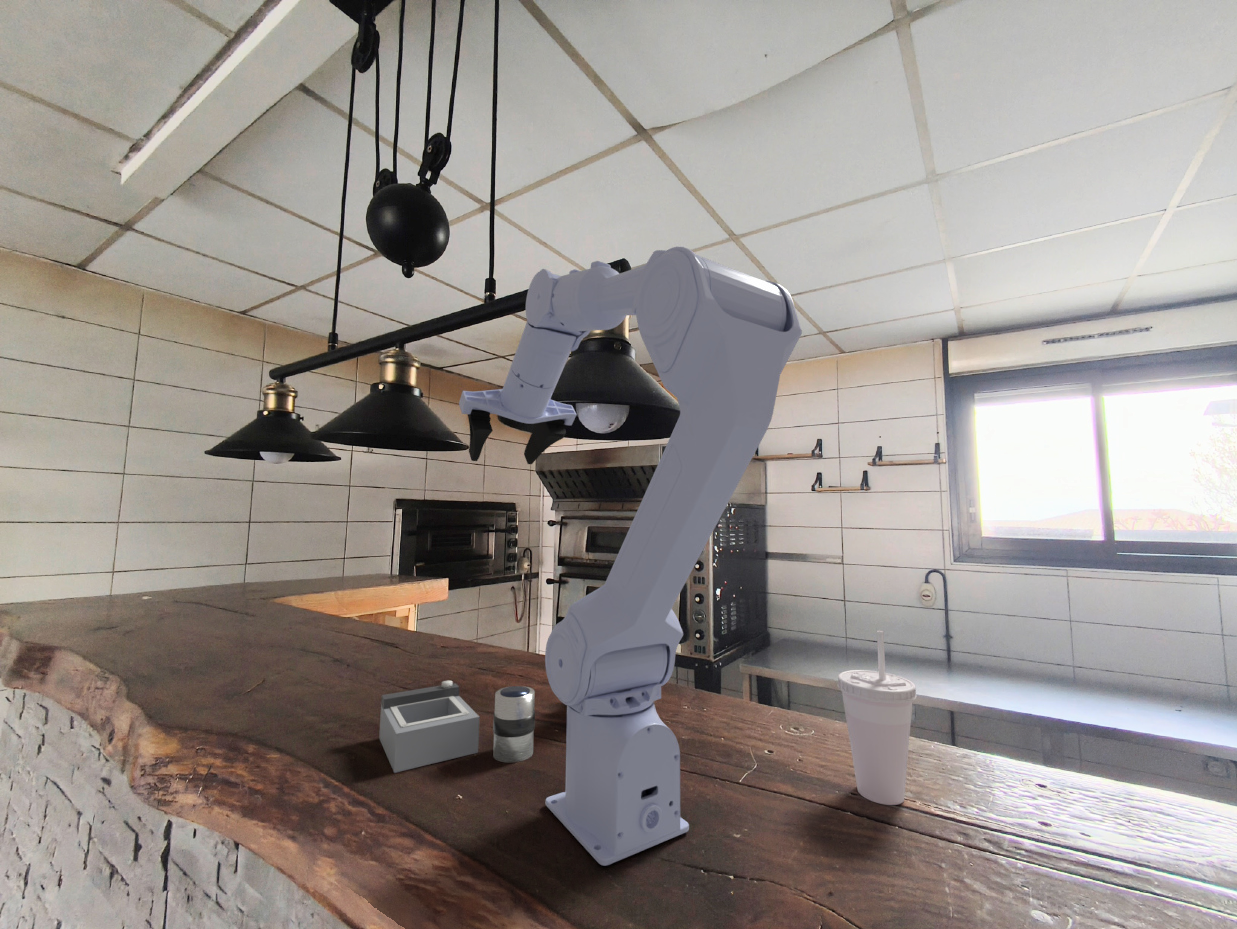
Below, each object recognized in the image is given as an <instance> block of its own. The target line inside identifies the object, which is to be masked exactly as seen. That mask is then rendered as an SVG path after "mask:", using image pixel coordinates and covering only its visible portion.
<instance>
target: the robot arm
mask: <svg viewBox="0 0 1237 929" xmlns="http://www.w3.org/2000/svg"><path fill="white" fill-rule="evenodd" d="M627 316H635V317H636V321H637V327H638V331H639V333H640V337H641V340H642V342H643V344H644V346H645V349H646V350H647V353H648V354H649V357H650V359H651V361H652V363H653V365H654V368H655V370H656V372H657V374H658V377H659V378H660V381H661V383H662V386H663V387H664V388H665V389H666V391H668V392H669V393H670V394H672V395H673V396H674V397H675V398H676V399H677V400H676V401H677V404H678V407H679V416H678V418H677V422H676V423H675V426H674V428H673V430H672V433H671V434H670V436H669V439H668V441H667V444H666V446H665V448H664V450H663V453H662V455H661V457H660V460H659V461H658V464H657V466H656V468H655V470H654V472H653V476H652V477H651V480H650V482H649V484H648V486H647V488H646V490H645V493H644V495H643V497H642V499H641V502H640V504H639V506H638V508H637V511H636V513H635V515H634V518H633V520H632V522H631V524H630V527H629V529H628V531H627V533H626V536H625V538H624V540H623V542H622V544H621V547H620V549H619V550H618V554H617V556H616V558H615V560H614V562H613V565H612V567H611V569H610V571H609V574H608V576H607V577H606V580H605V582H604V584H603V585H601V586H600V587H598V588H596V589H595V590H593V591H591V592H590V593H588V594H586V595H585V596H583V597H582V598H580V599H578V600H577V601H575V602H573V603H572V604H571V605H570V606H569V607H568V610H567V613H565V616H564V618H563V619H562V620H561V621H559V622H558V623H556V624H555V625H554V626H553V628H552V630H551V632H550V634H549V636H548V639H547V641H546V645H545V651H544V652H545V654H544V655H545V657H544V663H545V673H546V676H547V680H548V683H549V686H550V688H551V690H552V692H553V694H554V695H555V696H556V698H557V699H558V700H559V701H560V702H561V703H562V704H564V705H565V706H566V734H565V735H566V738H565V742H566V746H565V747H566V748H565V788H564V789H565V791H563V792H559V793H557V794H553V795H551V796H548V797H546V799H545V806H546V807H547V809H548V810H550V811H551V813H553V815H554V816H555V817H556V818H557V819H558V820H559V821H560V822H561V823H562V824H563V826H564V827H565V828H566V829H567V830H568V831H569V832H570V833H571V834H572V836H574V838H575V839H576V840H577V841H578V842H579V843H580V845H582V846H583V848H584V849H585V850H586V851H587V853H589V854H590V855H591V856H592V858H593V859H594V860H595V861H596V862H597V863H598V864H599V865H601V866H604V867H606V866H610V865H612V864H614V863H617V862H619V861H621V860H624V859H626V858H628V857H631V856H634V855H635V854H638V853H640V852H642V851H645V850H647V849H650V848H652V847H654V846H657V845H659V844H661V843H664V842H666V841H668V840H671V839H673V838H676V837H678V836H680V835H683V834H685V833H687V832H688V831H689V830H690V824H689V822H688V821H686V820H685V819H683V818H682V816H681V754H680V753H681V750H680V745H679V743H678V739H677V737H676V735H675V734H674V732H673V730H671V728H669V727H668V726H667V725H666V724H665V723H664V722H663V721H662V719H661V718H660V716H659V714H658V713H657V710H656V705H655V702H656V701H658V700H661V699H662V687H663V686H664V685H666V684H667V683H668V681H669V680H670V679H671V677H672V675H673V672H674V668H675V663H676V652H677V649H678V646H679V644H680V641H681V640H682V638H683V636H684V631H683V628H682V627H681V624H680V621H679V619H678V616H677V614H676V613H675V612H674V610H673V607H674V604H675V603H676V601H677V599H678V597H679V596H680V594H681V592H682V590H683V589H684V586H685V584H686V582H687V581H688V579H689V577H690V575H691V573H692V572H693V569H694V567H695V566H696V564H697V563H698V560H699V558H700V556H701V554H702V553H703V551H704V549H705V546H707V543H708V541H709V540H710V537H711V536H712V534H713V532H714V530H715V528H716V527H717V524H718V523H719V521H720V519H721V517H722V515H723V513H724V511H725V509H726V508H727V506H728V504H729V502H730V500H731V498H732V496H733V495H734V493H735V491H736V489H737V487H738V485H739V483H740V481H741V479H742V478H743V476H744V474H745V472H746V470H747V468H748V466H749V464H750V463H751V461H752V459H753V457H754V455H755V454H756V451H757V450H758V448H759V446H760V444H761V442H762V440H763V438H764V437H765V435H766V433H767V431H768V429H769V426H770V424H771V422H772V418H773V414H774V411H775V410H774V409H775V405H776V399H777V394H778V389H779V384H780V377H781V374H782V372H783V370H784V368H785V367H786V365H787V363H788V361H789V359H790V357H791V355H792V353H793V351H794V350H795V347H796V345H797V344H798V342H799V339H800V338H801V336H802V333H803V331H802V327H801V323H800V320H799V318H798V313H797V310H796V307H795V304H794V300H793V298H792V296H791V294H790V292H789V291H788V290H787V289H786V288H785V287H784V286H783V285H781V284H779V283H777V282H773V281H770V280H763V279H760V278H758V277H755V276H752V275H750V274H748V273H745V272H742V271H740V270H737V269H734V268H732V267H729V266H726V265H724V264H721V263H719V262H716V261H715V260H711V259H708V258H705V257H703V256H700V255H698V254H696V253H695V252H694V251H693V250H692V249H690V248H686V247H684V246H674V247H673V246H672V247H671V248H669V249H665V250H663V249H657V250H655V251H653V252H652V253H651V255H650V257H649V258H648V261H647V262H646V264H643V265H641V266H637V267H635V268H632V269H629V270H626V271H624V272H619V271H617V270H616V269H614V268H612V267H611V265H610V264H608V263H606V262H603V261H600V260H596V261H592V262H591V263H590V268H587V269H583V270H578V269H576V268H575V269H572V270H570V271H569V273H568V274H564V275H559V274H556V273H553V272H551V271H550V270H548V269H545V268H542V269H540V270H539V271H538V272H536V274H535V275H534V276H533V277H532V280H531V281H530V283H529V287H528V290H527V294H526V300H525V318H526V323H525V326H524V329H523V332H522V335H521V338H520V340H519V343H518V345H517V349H516V351H515V353H514V357H513V360H512V362H511V365H510V368H509V371H508V373H507V375H506V379H505V381H504V384H503V387H502V388H498V389H490V390H489V389H488V390H478V391H470V390H462V392H461V395H460V398H459V402H458V406H459V409H460V412H461V414H463V415H467V419H468V423H469V425H468V426H469V446H468V454H469V457H470V460H471V461H472V462H478V460H479V459H480V456H481V454H482V450H483V448H484V445H485V443H486V441H487V439H489V436H490V435H491V434H492V432H493V428H492V423H491V420H492V418H491V416H490V415H491V414H493V415H496V416H500V417H503V418H507V419H509V420H513V421H515V422H519V423H521V424H523V423H524V424H531V425H533V428H532V432H531V433H530V436H529V438H528V441H527V444H526V445H525V449H524V452H523V455H524V458H525V461H526V463H527V465H533V463H534V462H536V460H537V459H538V458H539V457H540V456H541V455H542V454H543V453H544V452H545V451H546V450H548V448H549V447H551V446H552V445H554V444H555V443H557V442H558V441H560V440H563V439H564V437H565V435H566V433H567V431H566V428H565V427H564V425H565V426H572V425H573V423H574V421H575V420H576V419H575V418H576V417H577V415H578V414H577V413H576V411H575V408H574V407H573V405H572V404H566V403H562V402H560V401H556V400H553V399H552V396H553V393H554V391H555V389H556V387H557V384H558V382H559V379H560V377H561V375H562V373H563V370H564V368H565V366H566V363H567V361H568V359H569V356H570V354H571V352H574V351H576V350H578V348H579V346H580V344H581V342H582V340H583V339H585V337H587V336H589V334H590V333H591V331H608V330H612V329H615V328H616V327H618V326H619V325H621V323H622V322H623V321H624V320H625V319H626V317H627Z"/></svg>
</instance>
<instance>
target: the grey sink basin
mask: <svg viewBox="0 0 1237 929" xmlns="http://www.w3.org/2000/svg"><path fill="white" fill-rule="evenodd" d="M380 702H381V703H380V717H379V718H380V719H379V722H380V723H379V738H378V739H379V742H380V744H381V745H382V747H383V750H384V752H385V754H386V758H387V760H388V761H389V764H390V766H391V768H392V771H393V773H394V774H396V773H401V772H403V771H404V772H405V771H408V770H412V769H416V768H419V767H421V768H422V767H423V766H424V767H425V766H428V765H431V764H432V765H433V764H436V763H437V764H438V763H441V762H445V761H449V760H452V759H453V760H454V759H456V758H457V759H458V758H461V757H467V756H470V755H473V754H474V755H475V754H479V744H480V743H479V740H480V715H479V714H478V713H477V712H475V710H473V708H472V707H471V706H470V705H469V704H468V703H467V702H466V701H465V700H464V699H463V698H462V697H461V696H460V686H459V685H458V684H457V683H456V682H455V683H454V681H452V680H443V681H441V685H434V686H430V687H424V688H417V689H413V690H412V689H411V690H410V689H409V690H405V691H399V692H392V693H387V694H382V695H381V701H380Z"/></svg>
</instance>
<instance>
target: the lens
mask: <svg viewBox="0 0 1237 929" xmlns="http://www.w3.org/2000/svg"><path fill="white" fill-rule="evenodd" d="M535 693H536V692H535V689H534V688H532V687H529V686H524V685H522V686H521V685H514V686H507V687H502V688H499V689H498V690H496V691H495V695H494V712H493V717H492V720H493V722H492V723H493V724H492V730H493V749H492V750H493V751H492V752H493V754H492V755H493V756H492V757H493V759H495V760H496V761H498V762H501V763H507V764H508V763H509V764H510V763H511V764H512V763H520V762H522V761H526V760H528V759H530V758H531V757H532V756H533V755H534V737H535V736H534V733H535V732H534V730H535V729H536V710H535V700H536V699H535Z"/></svg>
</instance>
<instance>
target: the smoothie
mask: <svg viewBox="0 0 1237 929" xmlns="http://www.w3.org/2000/svg"><path fill="white" fill-rule="evenodd" d="M884 632H885V631H883V630H877V631H876V642H877V662H878V663H877V664H878V665H877V666H878V671H876V670H868V669H867V670H866V669H851V670H845V671H842V672H840V673H838V674H837V689H839V691H841V694H842V701H843V708H844V714H845V719H846V727H847V733H848V739H849V745H850V750H851V752H850V753H851V756H852V757H851V758H852V765H853V769H854V775H855V776H854V777H855V782H856V787H857V788H856V789H857V792H858V794H860V796H862V797H864V798H865V799H867V800H868V801H871V802H874V803H877V804H879V805H880V804H881V805H887V806H896V805H901V804H903V803H904V801H905V794H906V785H907V784H906V783H907V782H906V781H907V772H908V770H907V769H908V759H909V758H908V757H909V745H910V736H911V724H912V723H911V722H912V714H913V712H912V710H913V701H915V700H917V698H918V697H917V691H916V690H917V688H916V684H915V683H914V682H913V681H911V680H909V679H907V678H906V677H903V676H900V675H897V674H893V673H889V672H886V660H885V659H886V658H885V655H886V653H885V635H884Z"/></svg>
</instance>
